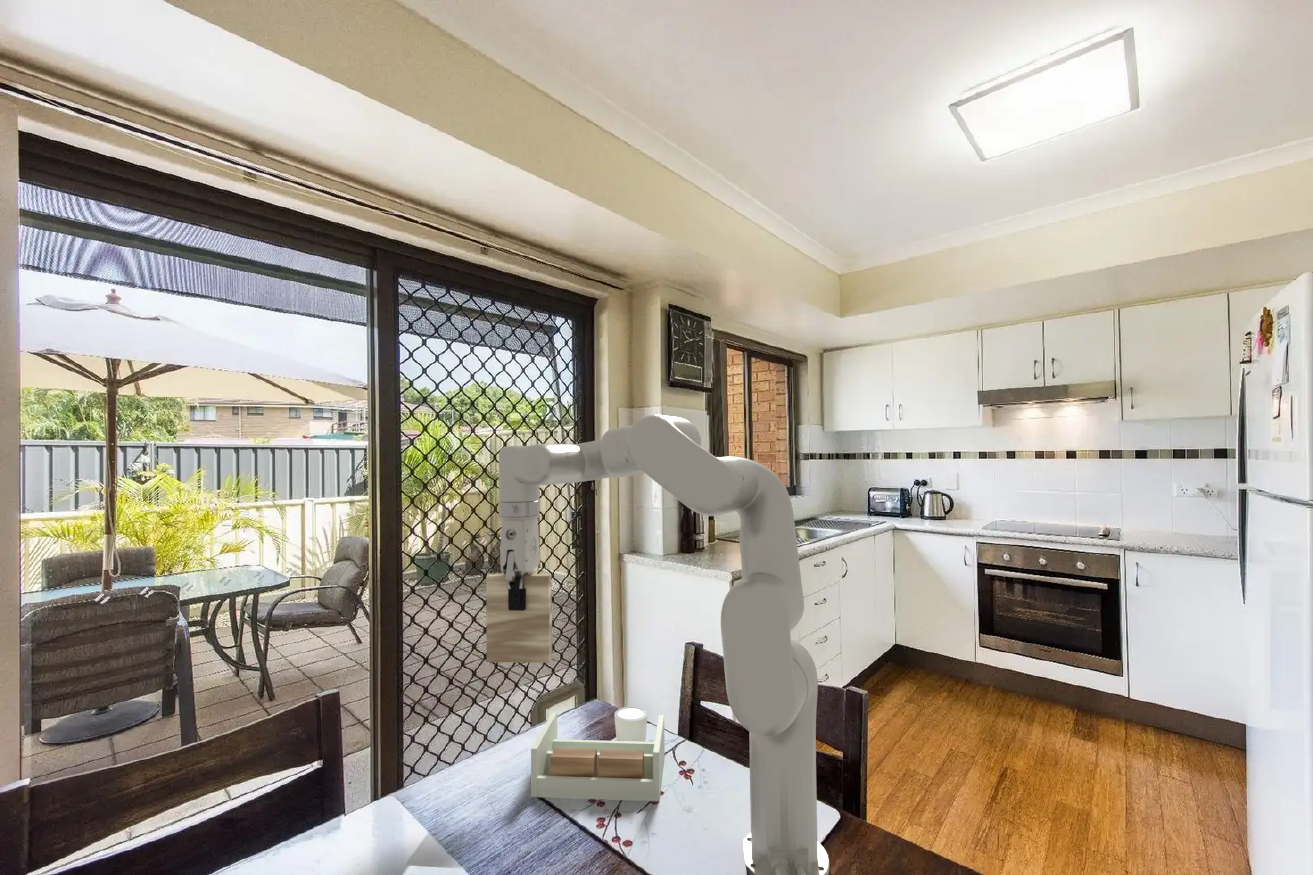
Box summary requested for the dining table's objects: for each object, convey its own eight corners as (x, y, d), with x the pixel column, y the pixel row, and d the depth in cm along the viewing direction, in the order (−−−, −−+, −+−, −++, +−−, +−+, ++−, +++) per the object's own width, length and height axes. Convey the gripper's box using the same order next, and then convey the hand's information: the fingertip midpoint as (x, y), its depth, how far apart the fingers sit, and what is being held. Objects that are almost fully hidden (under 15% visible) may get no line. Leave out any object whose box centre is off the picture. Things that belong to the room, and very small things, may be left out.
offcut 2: (642, 795, 96) (642, 759, 97) (598, 793, 97) (598, 758, 97) (644, 785, 99) (643, 750, 100) (601, 783, 100) (601, 749, 100)
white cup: (609, 753, 113) (609, 718, 113) (621, 737, 119) (621, 704, 120) (641, 758, 111) (641, 722, 111) (652, 742, 117) (652, 707, 118)
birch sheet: (549, 662, 105) (548, 576, 106) (486, 662, 106) (486, 576, 106) (552, 658, 107) (551, 573, 108) (490, 658, 108) (490, 574, 108)
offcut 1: (594, 793, 97) (593, 757, 97) (550, 791, 98) (550, 756, 98) (597, 783, 100) (596, 748, 100) (555, 782, 101) (554, 747, 101)
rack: (659, 810, 95) (658, 752, 95) (531, 805, 96) (530, 748, 97) (664, 765, 109) (664, 714, 109) (552, 761, 110) (552, 712, 111)
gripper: (525, 514, 99) (526, 620, 99) (549, 506, 115) (550, 598, 114) (484, 514, 100) (484, 619, 99) (513, 507, 116) (513, 597, 115)
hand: (519, 607), depth 107 cm, fingers closed on birch sheet, 2 cm apart
